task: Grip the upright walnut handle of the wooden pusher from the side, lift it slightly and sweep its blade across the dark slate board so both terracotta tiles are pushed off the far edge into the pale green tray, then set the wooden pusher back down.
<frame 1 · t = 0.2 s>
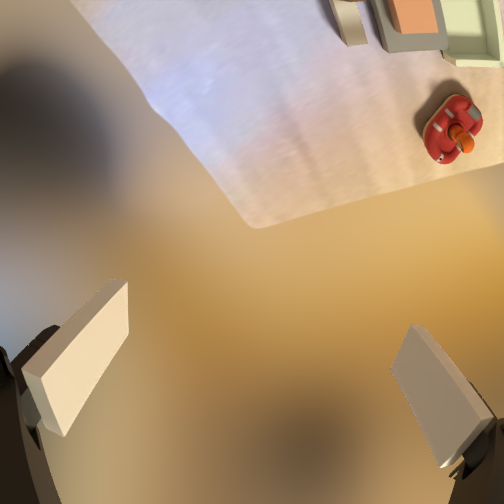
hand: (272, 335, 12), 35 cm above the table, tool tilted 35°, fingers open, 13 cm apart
toy boat: (446, 122, 35), on the table
tile b: (408, 12, 22), point 2 cm above the table, touching slate board
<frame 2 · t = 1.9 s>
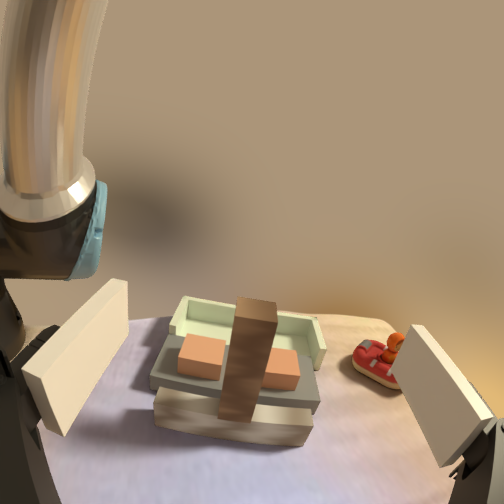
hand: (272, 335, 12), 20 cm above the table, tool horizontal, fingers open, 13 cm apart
wooden pusher: (229, 431, 28), on the table
toy boat: (381, 374, 41), on the table
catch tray: (245, 343, 44), on the table
tile a: (201, 363, 34), point 2 cm above the table, touching slate board
tile b: (273, 375, 35), point 2 cm above the table, touching slate board
slate board: (235, 381, 36), on the table
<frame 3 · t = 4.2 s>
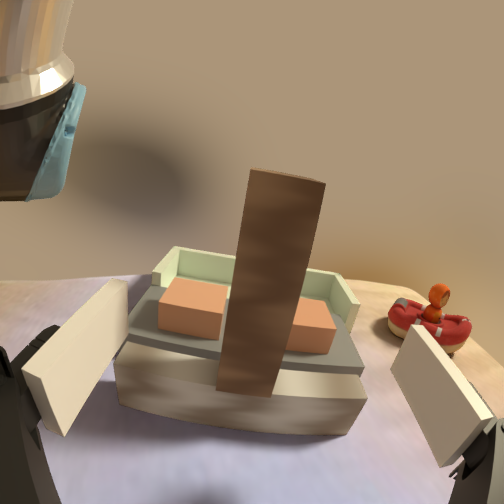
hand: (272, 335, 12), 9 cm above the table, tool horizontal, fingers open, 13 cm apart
wooden pusher: (235, 416, 18), on the table
toy boat: (422, 339, 33), on the table
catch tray: (252, 304, 35), on the table
tile a: (193, 319, 25), point 2 cm above the table, touching slate board
tile b: (295, 334, 25), point 2 cm above the table, touching slate board
slate board: (240, 347, 26), on the table
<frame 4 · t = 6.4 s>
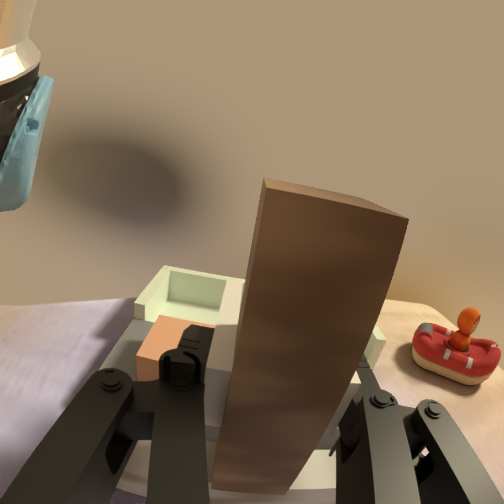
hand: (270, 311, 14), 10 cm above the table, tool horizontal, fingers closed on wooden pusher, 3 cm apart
wooden pusher: (237, 496, 12), on the table, touching gripper
toy boat: (447, 367, 27), on the table
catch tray: (257, 336, 29), on the table
tile a: (183, 369, 19), point 2 cm above the table, touching slate board
slate board: (243, 399, 20), on the table
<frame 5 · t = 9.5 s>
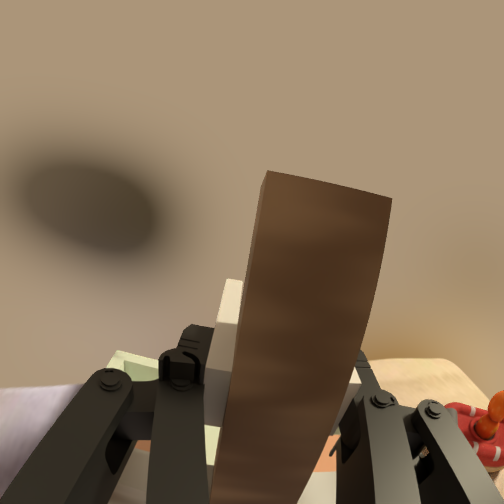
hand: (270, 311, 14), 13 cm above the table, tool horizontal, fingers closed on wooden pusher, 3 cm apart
toy boat: (467, 450, 18), on the table
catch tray: (240, 448, 19), on the table
tile b: (300, 483, 14), point 2 cm above the table, touching wooden pusher, slate board
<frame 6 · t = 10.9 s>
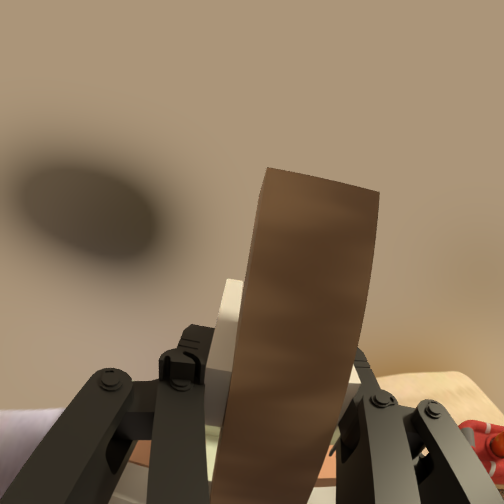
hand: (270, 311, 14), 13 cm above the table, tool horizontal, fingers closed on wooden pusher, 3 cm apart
toy boat: (481, 467, 15), on the table
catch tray: (246, 480, 16), on the table
tile a: (154, 484, 12), point 3 cm above the table, tilted 90°, touching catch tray
tile b: (313, 495, 13), point 3 cm above the table, tilted 90°, touching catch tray
when the fingers open (10 cm above the table, at t = 13.3 s): wooden pusher moves 1 cm and tips over, point 1 cm above the table.
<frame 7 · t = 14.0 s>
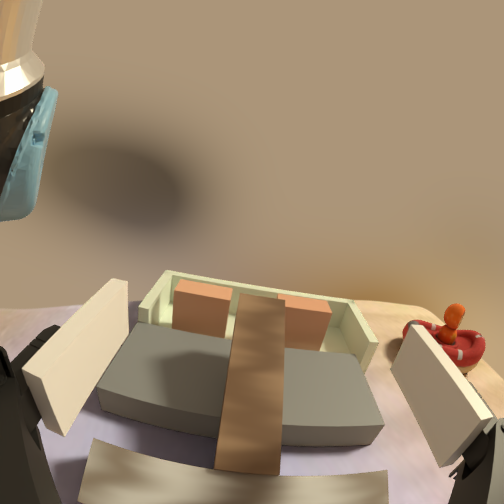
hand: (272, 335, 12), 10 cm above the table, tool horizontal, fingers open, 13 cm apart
toy boat: (435, 360, 30), on the table
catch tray: (255, 338, 30), on the table
tile a: (199, 319, 26), point 3 cm above the table, tilted 90°, touching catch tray
tile b: (299, 332, 27), point 3 cm above the table, tilted 90°, touching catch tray
slate board: (242, 398, 21), on the table
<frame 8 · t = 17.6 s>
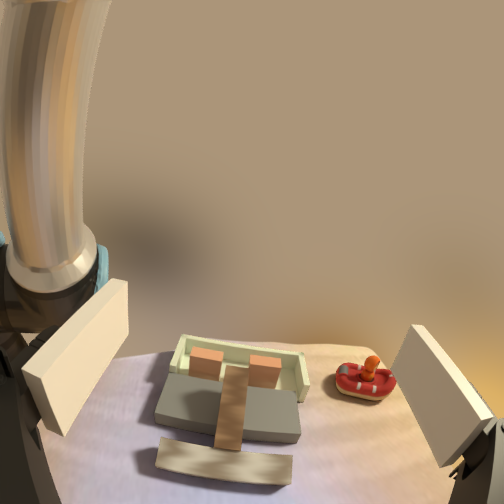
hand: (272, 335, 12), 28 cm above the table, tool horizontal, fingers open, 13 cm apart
wooden pusher: (222, 479, 27), point 1 cm above the table, tilted 68°, touching slate board
toy boat: (360, 389, 49), on the table
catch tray: (238, 377, 48), on the table
tile a: (204, 370, 44), point 3 cm above the table, tilted 90°, touching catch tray
tile b: (262, 377, 44), point 3 cm above the table, tilted 90°, touching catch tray
slate board: (228, 414, 39), on the table
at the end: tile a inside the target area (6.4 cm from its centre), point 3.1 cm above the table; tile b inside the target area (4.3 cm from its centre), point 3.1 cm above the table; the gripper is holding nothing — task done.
